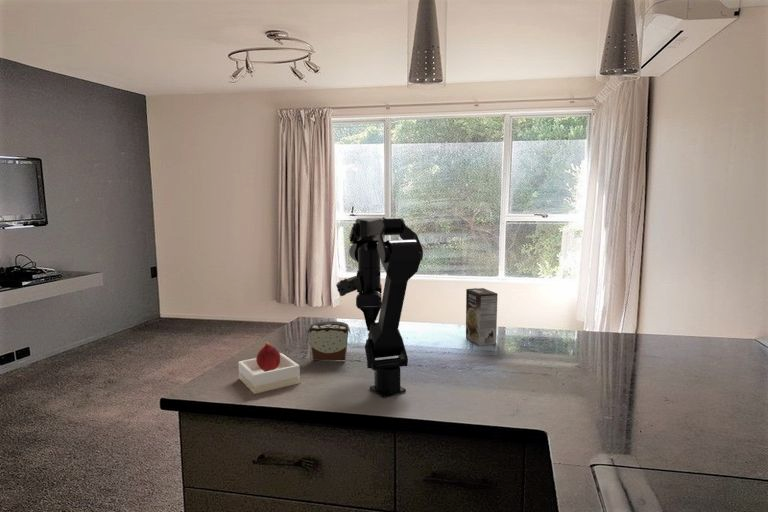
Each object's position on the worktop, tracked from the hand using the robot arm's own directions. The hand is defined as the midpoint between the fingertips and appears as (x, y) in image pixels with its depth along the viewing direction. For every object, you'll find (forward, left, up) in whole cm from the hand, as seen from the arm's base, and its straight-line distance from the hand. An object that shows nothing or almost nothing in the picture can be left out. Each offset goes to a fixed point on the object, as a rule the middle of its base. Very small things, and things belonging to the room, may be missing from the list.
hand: (370, 325), depth 128 cm
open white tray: (+8, +25, -12) cm, 29 cm away
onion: (+8, +25, -10) cm, 28 cm away
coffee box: (+2, -42, -12) cm, 44 cm away
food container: (+15, +4, -12) cm, 20 cm away
